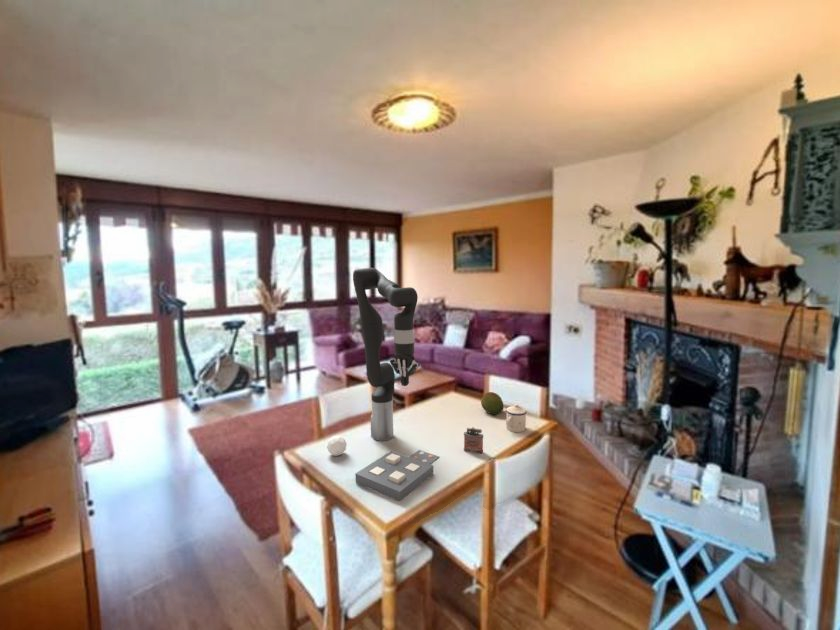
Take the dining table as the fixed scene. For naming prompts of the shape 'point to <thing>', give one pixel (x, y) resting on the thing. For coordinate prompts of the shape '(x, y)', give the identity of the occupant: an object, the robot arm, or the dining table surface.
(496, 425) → the dining table surface
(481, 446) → the lighter
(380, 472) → the button
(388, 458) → the button
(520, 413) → the teacup with lid
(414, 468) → the button
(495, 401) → the fruit
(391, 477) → the button
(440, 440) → the dining table surface
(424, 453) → the pattern card
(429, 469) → the button box
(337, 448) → the geometric ball
